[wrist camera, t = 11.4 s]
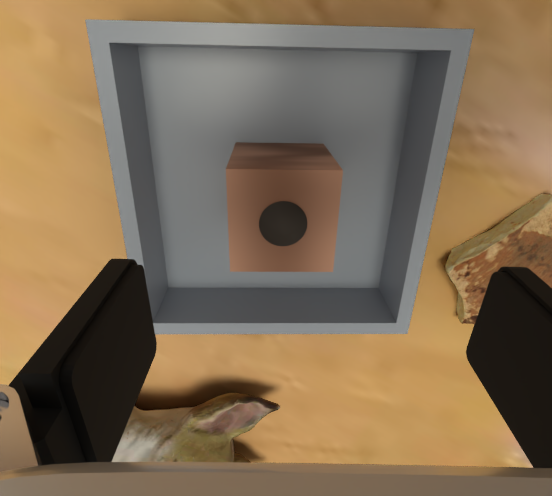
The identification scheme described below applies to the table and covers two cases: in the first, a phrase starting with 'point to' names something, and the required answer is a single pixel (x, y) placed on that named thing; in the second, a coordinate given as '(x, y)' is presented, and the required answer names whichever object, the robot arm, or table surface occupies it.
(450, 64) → the tray
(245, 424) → the ceramic sculpture
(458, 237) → the table surface
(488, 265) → the shard
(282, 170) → the bored block
